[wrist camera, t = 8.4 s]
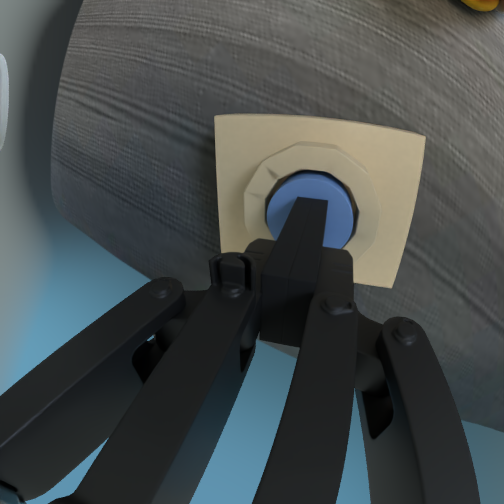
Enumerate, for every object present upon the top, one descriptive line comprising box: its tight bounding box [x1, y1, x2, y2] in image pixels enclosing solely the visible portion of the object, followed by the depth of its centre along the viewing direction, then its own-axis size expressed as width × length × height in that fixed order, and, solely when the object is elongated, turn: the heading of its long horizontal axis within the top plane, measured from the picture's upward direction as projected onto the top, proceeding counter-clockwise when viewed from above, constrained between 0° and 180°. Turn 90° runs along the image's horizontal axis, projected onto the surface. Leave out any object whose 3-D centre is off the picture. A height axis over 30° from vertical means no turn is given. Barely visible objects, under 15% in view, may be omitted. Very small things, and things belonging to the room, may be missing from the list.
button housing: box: [214, 114, 426, 288], centre depth 16 cm, size 12×10×4 cm
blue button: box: [267, 170, 353, 249], centre depth 14 cm, size 4×4×2 cm
